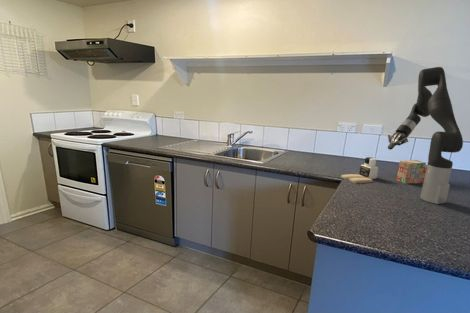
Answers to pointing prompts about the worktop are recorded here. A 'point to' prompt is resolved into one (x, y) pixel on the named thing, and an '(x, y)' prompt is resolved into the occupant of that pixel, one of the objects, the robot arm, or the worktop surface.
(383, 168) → the worktop surface
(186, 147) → the worktop surface
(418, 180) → the stack of blocks
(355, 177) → the maple board
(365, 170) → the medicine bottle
